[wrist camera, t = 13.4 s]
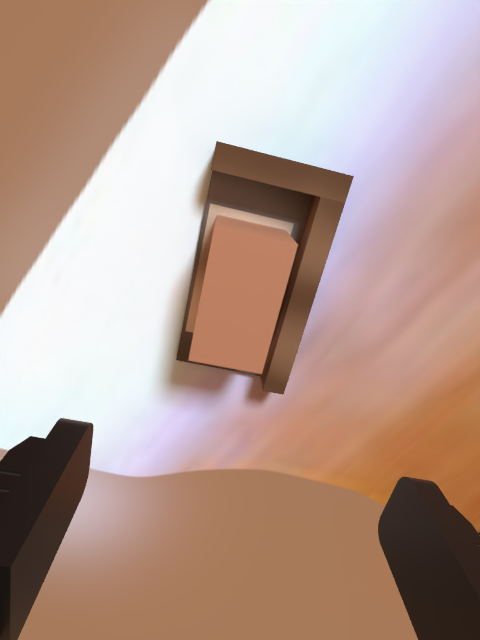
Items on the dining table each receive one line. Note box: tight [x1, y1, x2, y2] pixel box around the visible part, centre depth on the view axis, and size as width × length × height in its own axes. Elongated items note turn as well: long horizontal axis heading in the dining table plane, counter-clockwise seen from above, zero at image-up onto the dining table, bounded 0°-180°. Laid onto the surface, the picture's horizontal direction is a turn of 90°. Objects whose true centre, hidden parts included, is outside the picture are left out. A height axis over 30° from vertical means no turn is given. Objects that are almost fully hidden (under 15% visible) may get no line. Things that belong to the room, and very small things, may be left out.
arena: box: [176, 141, 354, 394], centre depth 25 cm, size 15×8×2 cm, turn 167°
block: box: [188, 215, 298, 374], centre depth 24 cm, size 4×8×5 cm, turn 167°
